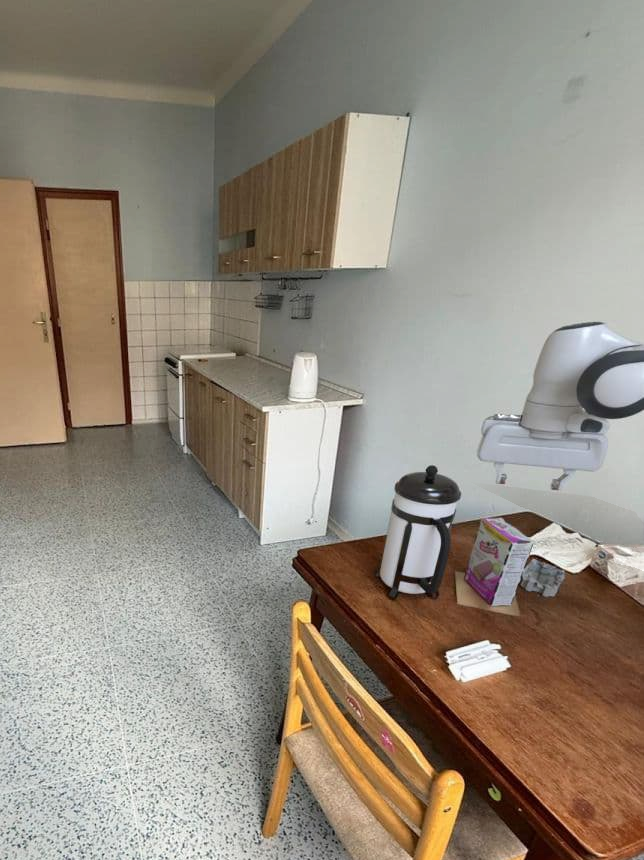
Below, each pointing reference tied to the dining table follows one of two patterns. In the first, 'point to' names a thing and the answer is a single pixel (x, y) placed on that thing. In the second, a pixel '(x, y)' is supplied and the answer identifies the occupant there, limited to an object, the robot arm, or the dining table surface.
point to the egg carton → (542, 578)
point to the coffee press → (419, 533)
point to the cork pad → (479, 598)
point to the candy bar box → (497, 561)
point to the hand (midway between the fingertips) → (526, 486)
